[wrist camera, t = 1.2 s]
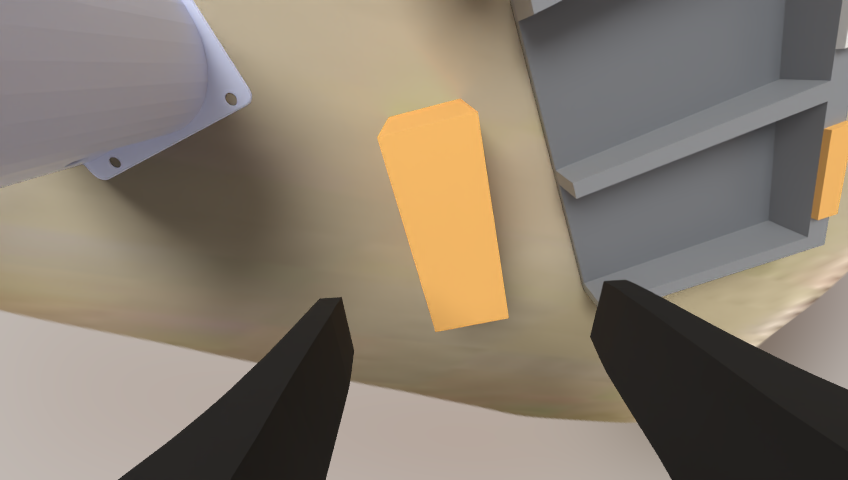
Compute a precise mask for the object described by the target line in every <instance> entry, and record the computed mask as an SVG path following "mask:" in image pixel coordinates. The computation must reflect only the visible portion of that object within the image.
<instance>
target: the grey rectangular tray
mask: <svg viewBox="0 0 848 480" xmlns="http://www.w3.org/2000/svg"><path fill="white" fill-rule="evenodd" d="M510 3H511V6H512V10H513V14H514V18H515V22H516V26H517V30H518V34H519V38H520V42H521V46H522V50H523V54H524V58H525V61H526V65H527V69H528V73H529V77H530V81H531V85H532V89H533V93H534V97H535V101H536V105H537V109H538V112H539V116H540V120H541V124H542V128H543V132H544V136H545V140H546V144H547V148H548V152H549V156H550V160H551V164H552V167H553V171H554V175H555V179H556V183H557V187H558V191H559V195H560V199H561V203H562V207H563V211H564V215H565V218H566V222H567V226H568V230H569V234H570V238H571V242H572V246H573V250H574V254H575V258H576V262H577V266H578V270H579V273H580V277H581V281H582V285H583V289H584V290H585V292H586V293H587V294H588V296H589V297H590V298H591V300H592V301H593V302H594V304H595V305H596V306H597V307H598V303H599V298H600V294H601V290H602V286H603V282H604V281H611V280H628V281H631V282H633V283H635V284H637V285H639V286H641V287H643V288H645V289H647V290H649V291H651V292H653V293H654V294H656V295H658V296H660V297H662V296H665V295H668V294H671V293H674V292H677V291H681V290H684V289H687V288H690V287H693V286H696V285H699V284H702V283H706V282H709V281H712V280H715V279H718V278H721V277H724V276H727V275H731V274H734V273H737V272H740V271H743V270H746V269H749V268H752V267H755V266H759V265H762V264H765V263H768V262H771V261H774V260H777V259H780V258H784V257H787V256H790V255H793V254H796V253H799V252H802V251H805V250H809V249H812V248H815V247H818V246H821V245H824V243H825V237H826V231H827V226H828V220H829V216H832V215H835V214H837V213H838V208H839V203H840V197H841V192H842V187H843V181H844V176H845V171H846V165H847V160H848V121H846V117H847V112H848V0H511V1H510Z"/></svg>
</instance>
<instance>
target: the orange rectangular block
mask: <svg viewBox="0 0 848 480" xmlns="http://www.w3.org/2000/svg"><path fill="white" fill-rule="evenodd" d="M377 139H378V142H379V145H380V149H381V152H382V155H383V159H384V162H385V165H386V169H387V172H388V175H389V179H390V182H391V185H392V188H393V192H394V195H395V198H396V202H397V205H398V208H399V212H400V215H401V218H402V222H403V225H404V228H405V232H406V235H407V238H408V242H409V245H410V248H411V252H412V255H413V258H414V262H415V265H416V268H417V272H418V275H419V278H420V282H421V285H422V288H423V292H424V295H425V298H426V302H427V305H428V308H429V312H430V315H431V318H432V322H433V325H434V328H435V332H439V331H444V330H449V329H454V328H460V327H465V326H470V325H475V324H481V323H486V322H491V321H496V320H502V319H507V318H509V316H508V309H507V302H506V296H505V289H504V283H503V276H502V269H501V263H500V256H499V249H498V243H497V236H496V230H495V223H494V216H493V210H492V203H491V196H490V190H489V183H488V176H487V170H486V163H485V157H484V150H483V143H482V137H481V130H480V123H479V117H478V112H477V111H476V110H475V109H473V108H472V107H471V106H469V105H468V104H467V103H465V102H464V101H463V100H461V99H457V100H453V101H449V102H445V103H441V104H438V105H434V106H430V107H426V108H422V109H418V110H415V111H411V112H407V113H403V114H399V115H395V116H392V117H389V118H388V119H387V121H386V123H385V125H384V126H383V128H382V130H381V132H380V133H379V135H378V137H377Z"/></svg>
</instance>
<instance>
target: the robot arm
mask: <svg viewBox="0 0 848 480" xmlns="http://www.w3.org/2000/svg"><path fill="white" fill-rule="evenodd" d="M227 93H232V94H234V95H235V96H236V98H237V103H236V105H230V104H229V103H228V102H227V101H226V99H225V97H226V94H227ZM251 100H252V93H251V91H250V89H249V87H248V86H247V84H246V83H245V81H244V80H243V78H242V76H241V75H240V73H239V72H238V70H237V69H236V67H235V65H234V64H233V62H232V61H231V59H230V58H229V56H228V54H227V53H226V51H225V50H224V48H223V47H222V45H221V43H220V42H219V40H218V39H217V37H216V35H215V34H214V32H213V31H212V29H211V28H210V26H209V24H208V23H207V21H206V20H205V18H204V17H203V15H202V13H201V12H200V10H199V9H198V7H197V6H196V4H195V2H194V1H193V0H0V188H2V187H6V186H9V185H13V184H16V183H20V182H23V181H26V180H30V179H33V178H37V177H40V176H44V175H47V174H51V173H54V172H57V171H61V170H64V169H68V168H71V167H75V166H78V165H82V164H84V165H85V166H86V167H87V168H88V169H89V171H90V172H91V173H92V174H93V175H95V176H96V177H97V178H99V179H101V180H108V179H111V178H112V177H114V176H116V175H118V174H120V173H122V172H124V171H125V170H127V169H129V168H131V167H133V166H135V165H137V164H139V163H140V162H142V161H144V160H146V159H148V158H150V157H152V156H154V155H155V154H157V153H159V152H161V151H163V150H165V149H167V148H168V147H170V146H172V145H174V144H176V143H178V142H180V141H182V140H183V139H185V138H187V137H189V136H191V135H193V134H195V133H197V132H198V131H200V130H202V129H204V128H206V127H208V126H210V125H212V124H213V123H215V122H217V121H219V120H221V119H223V118H225V117H226V116H228V115H230V114H232V113H234V112H236V111H238V110H240V109H241V108H243V107H245V106H247V105H248V104H250V103H251ZM111 157H115V158H117V159H118V160H119V161H120V163H121V166H120V167H118V168H117V167H114V166H113V165H112V164H111V163H110V158H111ZM590 337H591V340H592V342H593V344H594V346H595V349H596V351H597V353H598V356H599V358H600V360H601V362H602V364H603V366H604V368H605V370H606V372H607V374H608V376H609V377H610V379H611V381H612V382H613V384H614V386H615V387H616V389H617V390H618V392H619V394H620V395H621V397H622V399H623V400H624V402H625V403H626V405H627V407H628V408H629V410H630V411H631V413H632V415H633V416H634V418H635V420H636V421H637V423H638V424H639V426H640V428H641V429H642V430H643V432H644V434H645V436H646V437H647V439H648V440H649V442H650V443H651V445H652V447H653V448H654V450H655V452H656V453H657V455H658V456H659V458H660V460H661V462H662V463H663V465H664V467H665V468H666V470H667V472H668V474H669V476H670V477H671V479H672V480H848V390H847V389H845V388H843V387H840V386H838V385H836V384H834V383H831V382H829V381H827V380H825V379H822V378H820V377H818V376H815V375H813V374H811V373H809V372H807V371H804V370H802V369H800V368H798V367H796V366H794V365H791V364H789V363H787V362H785V361H783V360H781V359H779V358H777V357H775V356H773V355H771V354H769V353H767V352H765V351H763V350H761V349H759V348H757V347H755V346H753V345H751V344H749V343H747V342H745V341H743V340H741V339H739V338H737V337H735V336H733V335H731V334H729V333H727V332H725V331H723V330H721V329H720V328H718V327H716V326H714V325H712V324H710V323H708V322H706V321H705V320H703V319H701V318H699V317H697V316H695V315H693V314H691V313H690V312H688V311H686V310H684V309H682V308H680V307H679V306H677V305H675V304H673V303H671V302H669V301H668V300H666V299H664V298H662V297H660V296H658V295H656V294H654V293H653V292H651V291H649V290H647V289H645V288H643V287H641V286H639V285H637V284H635V283H633V282H631V281H628V280H611V281H604V282H603V286H602V290H601V294H600V298H599V303H598V307H597V311H596V315H595V319H594V323H593V327H592V331H591V336H590ZM353 355H354V349H353V344H352V340H351V336H350V331H349V327H348V323H347V318H346V314H345V310H344V305H343V301H342V297H339V298H323V299H319V300H318V301H317V302H316V303H315V304H314V305H313V306H312V307H311V308H310V310H309V311H308V312H307V313H306V314H305V315H304V316H303V317H302V318H301V319H300V320H299V321H298V322H297V323H296V324H295V326H294V327H293V328H292V329H291V330H290V331H289V332H288V333H287V334H286V335H285V336H284V337H283V338H282V339H281V340H280V341H279V342H278V343H277V344H276V345H275V346H274V347H273V348H272V350H271V351H270V352H269V353H268V354H267V355H266V356H265V357H264V358H263V359H262V360H261V361H260V362H258V363H257V364H256V365H255V366H254V367H253V368H252V369H251V370H250V371H249V372H248V373H247V374H246V375H245V376H244V377H243V378H242V379H241V380H240V381H239V382H237V383H236V385H234V386H233V387H232V388H231V389H230V390H229V391H228V392H227V393H226V394H225V395H223V396H222V397H221V398H220V399H219V400H218V401H217V402H216V403H214V404H213V405H212V406H211V407H210V408H209V409H208V410H206V411H205V412H204V413H203V414H202V415H200V416H199V417H198V418H197V419H196V420H194V421H193V422H192V423H191V424H189V425H188V426H187V427H186V428H185V429H183V430H182V431H181V432H180V433H179V434H177V435H176V436H175V437H174V438H172V439H171V440H170V441H169V442H167V443H166V444H165V445H163V446H162V447H161V448H159V449H158V450H157V451H155V452H154V453H153V454H151V455H150V456H149V457H148V458H146V459H145V460H143V461H142V462H141V463H139V464H138V465H137V466H135V467H134V468H133V469H131V470H130V471H129V472H128V473H126V474H125V475H124V476H122V477H121V478H120V479H118V480H326V476H327V472H328V468H329V464H330V461H331V456H332V452H333V449H334V445H335V441H336V437H337V433H338V429H339V425H340V422H341V418H342V413H343V410H344V406H345V402H346V397H347V394H348V390H349V384H350V378H351V371H352V363H353Z"/></svg>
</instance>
